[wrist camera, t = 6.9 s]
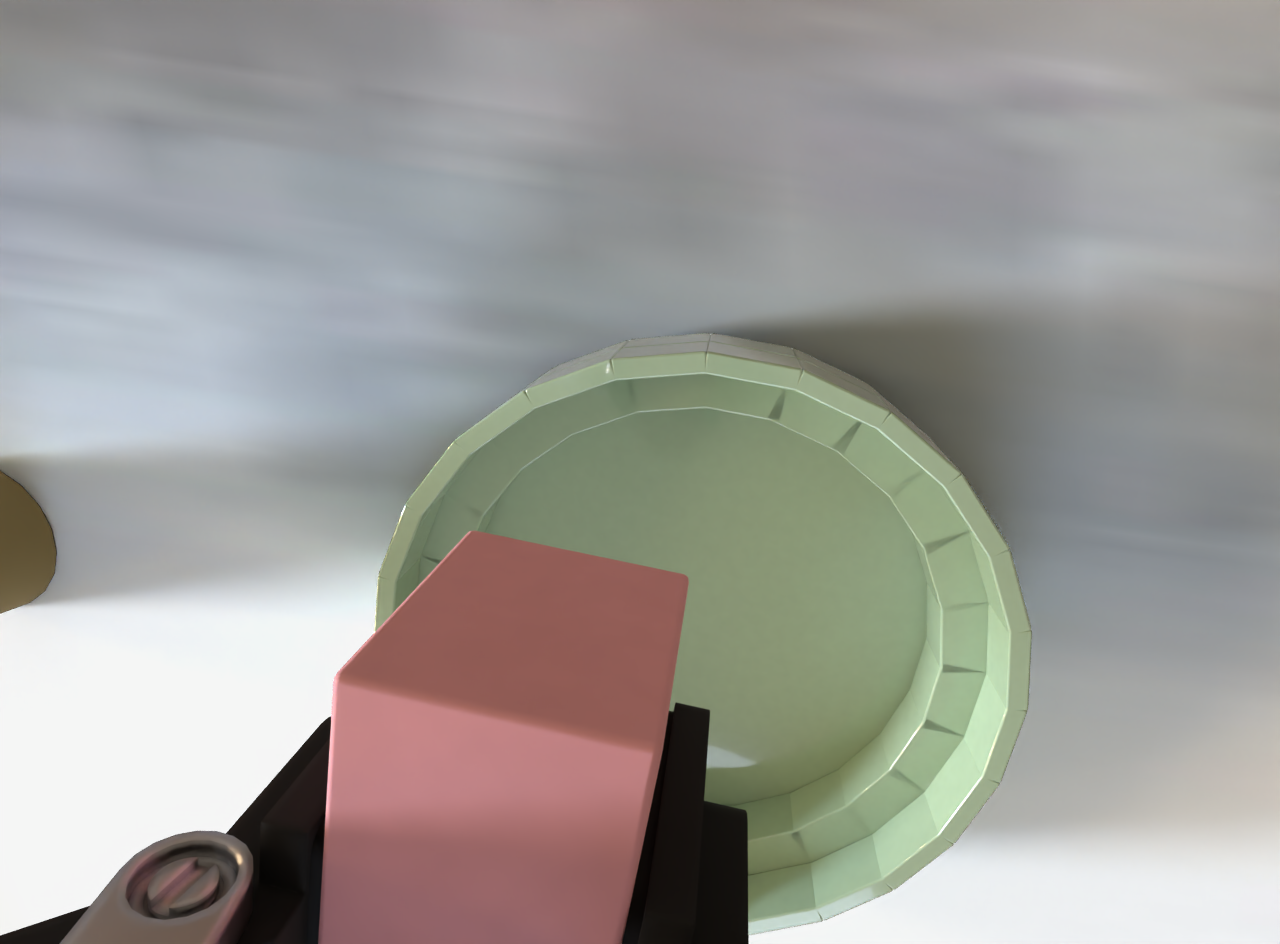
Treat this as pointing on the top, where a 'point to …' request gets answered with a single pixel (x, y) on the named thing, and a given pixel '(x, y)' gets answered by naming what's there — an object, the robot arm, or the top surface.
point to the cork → (23, 547)
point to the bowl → (772, 591)
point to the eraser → (500, 751)
